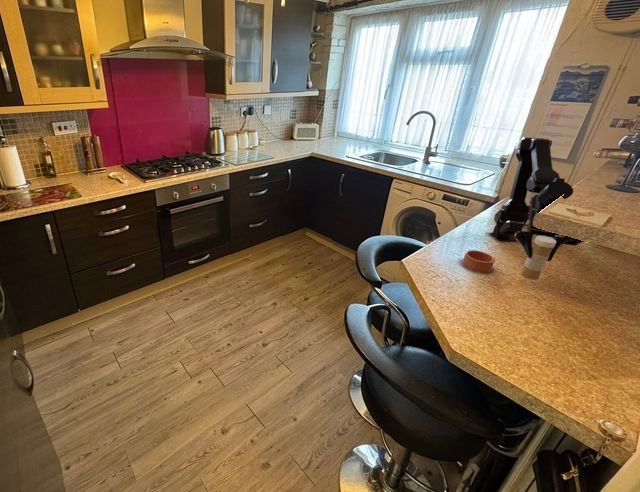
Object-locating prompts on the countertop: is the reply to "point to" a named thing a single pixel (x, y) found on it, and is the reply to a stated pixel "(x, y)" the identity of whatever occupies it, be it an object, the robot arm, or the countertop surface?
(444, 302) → the countertop surface
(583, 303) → the countertop surface
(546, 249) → the sprinkles bottle
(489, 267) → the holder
